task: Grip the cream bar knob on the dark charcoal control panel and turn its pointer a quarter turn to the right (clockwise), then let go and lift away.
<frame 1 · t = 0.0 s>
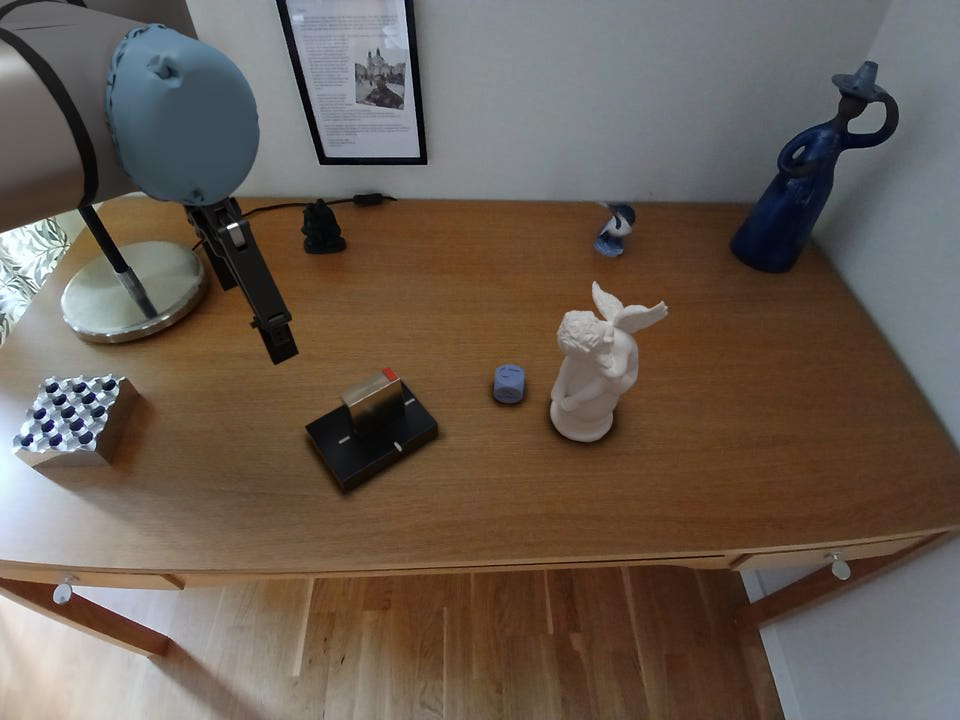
hand: (258, 319, 61), 19 cm above the table, tool pointing down, fingers open, 13 cm apart
cherub figurine: (582, 405, 78), on the table
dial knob: (373, 403, 69), point 7 cm above the table, hinge at 0.0°
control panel: (374, 436, 74), on the table
decorative dice: (508, 393, 79), on the table
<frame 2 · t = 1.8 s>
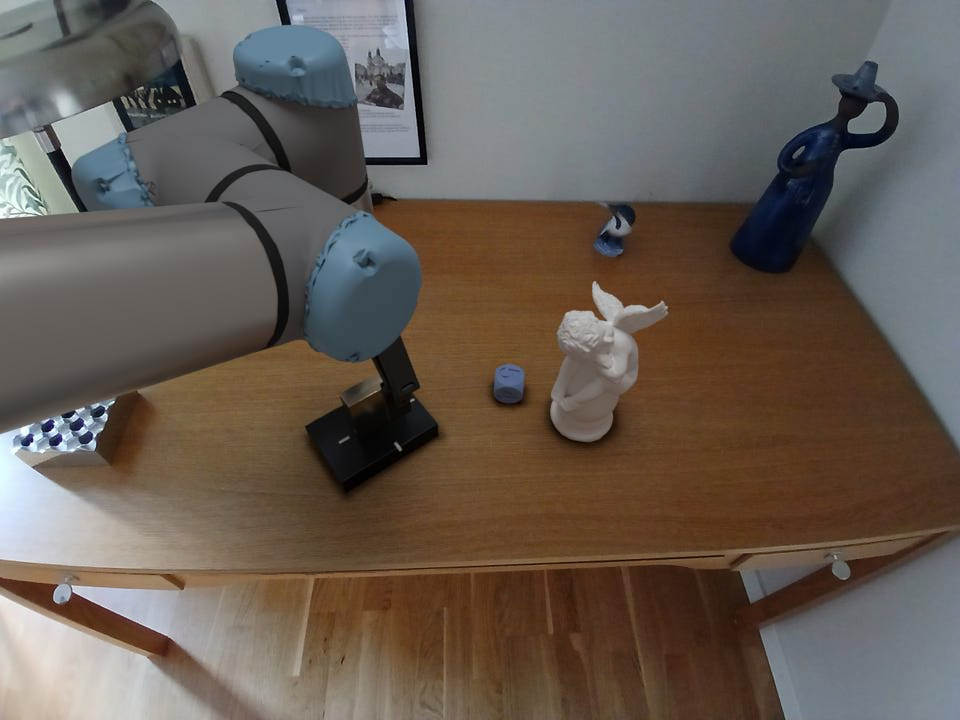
hand: (368, 376, 65), 12 cm above the table, tool pointing down, fingers open, 13 cm apart
nothing on the table moved.
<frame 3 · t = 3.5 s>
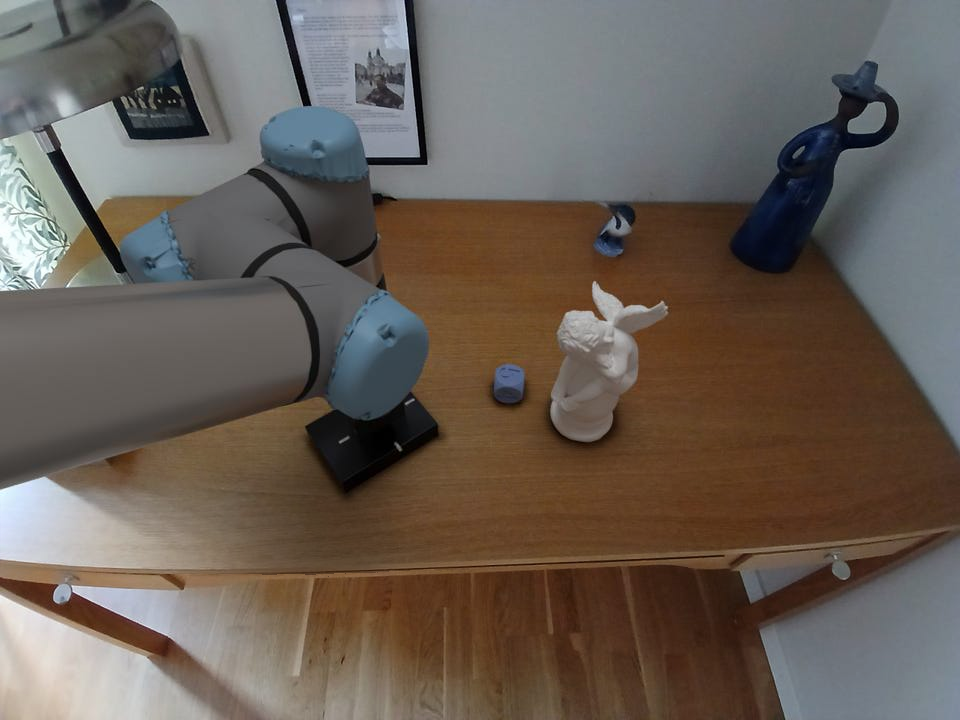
hand: (376, 415, 71), 4 cm above the table, tool pointing down, fingers closed on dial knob, 2 cm apart
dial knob: (373, 403, 69), point 7 cm above the table, hinge at -0.1°, touching gripper
everything else where it was.
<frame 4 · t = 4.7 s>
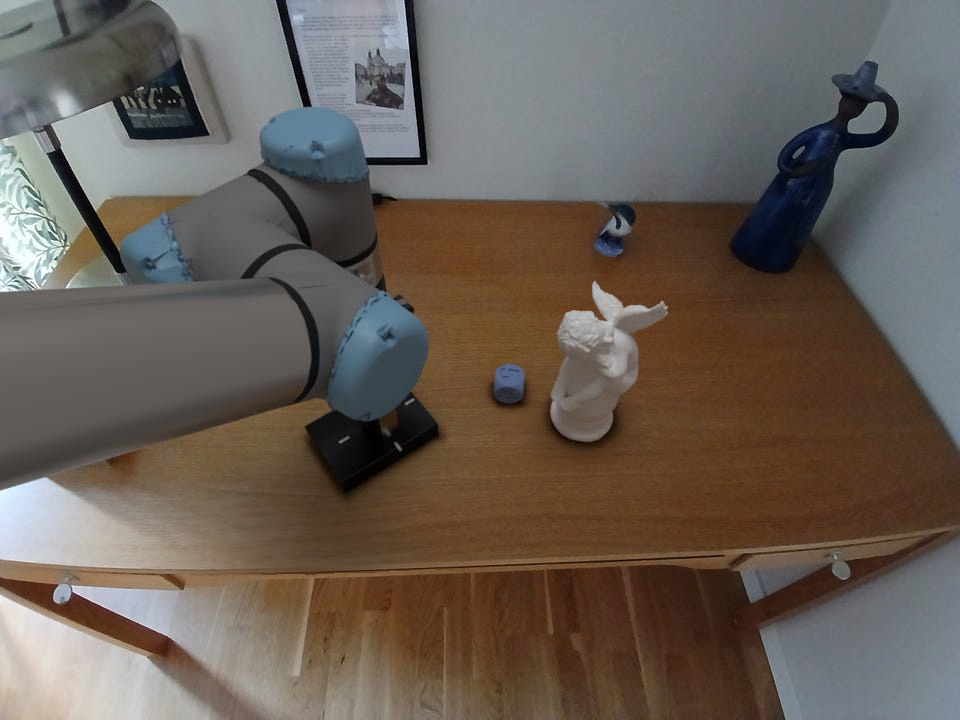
hand: (377, 415, 71), 4 cm above the table, tool pointing down, fingers closed on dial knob, 2 cm apart
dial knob: (373, 403, 69), point 7 cm above the table, hinge at -89.5°, touching gripper
everything else where it was.
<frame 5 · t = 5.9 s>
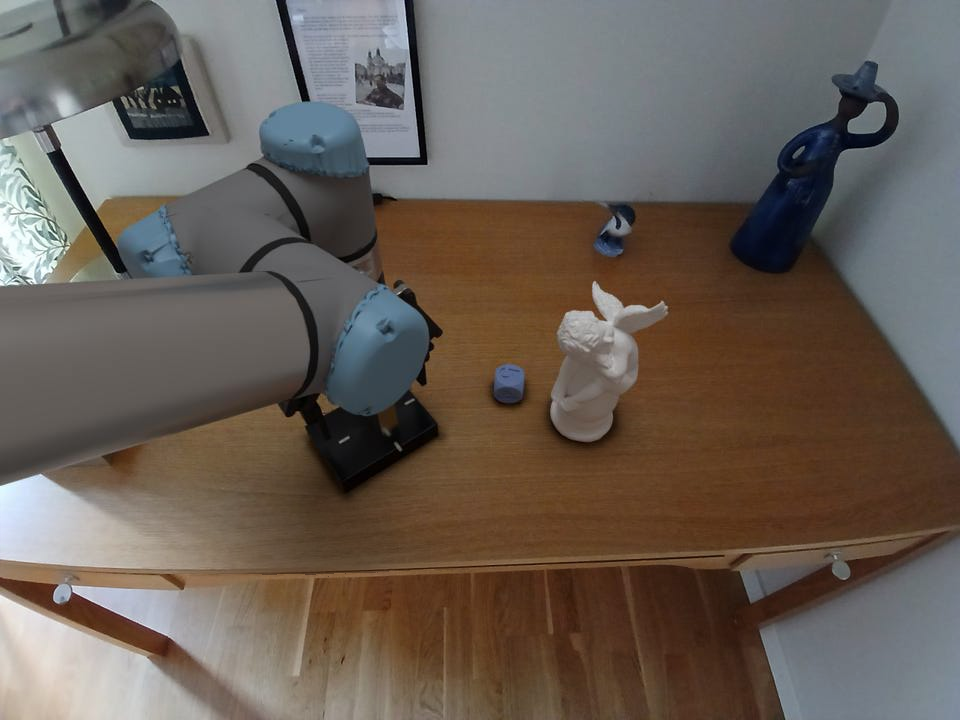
hand: (372, 404, 69), 7 cm above the table, tool pointing down, fingers open, 13 cm apart
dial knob: (373, 403, 69), point 7 cm above the table, hinge at -89.4°
everything else where it was.
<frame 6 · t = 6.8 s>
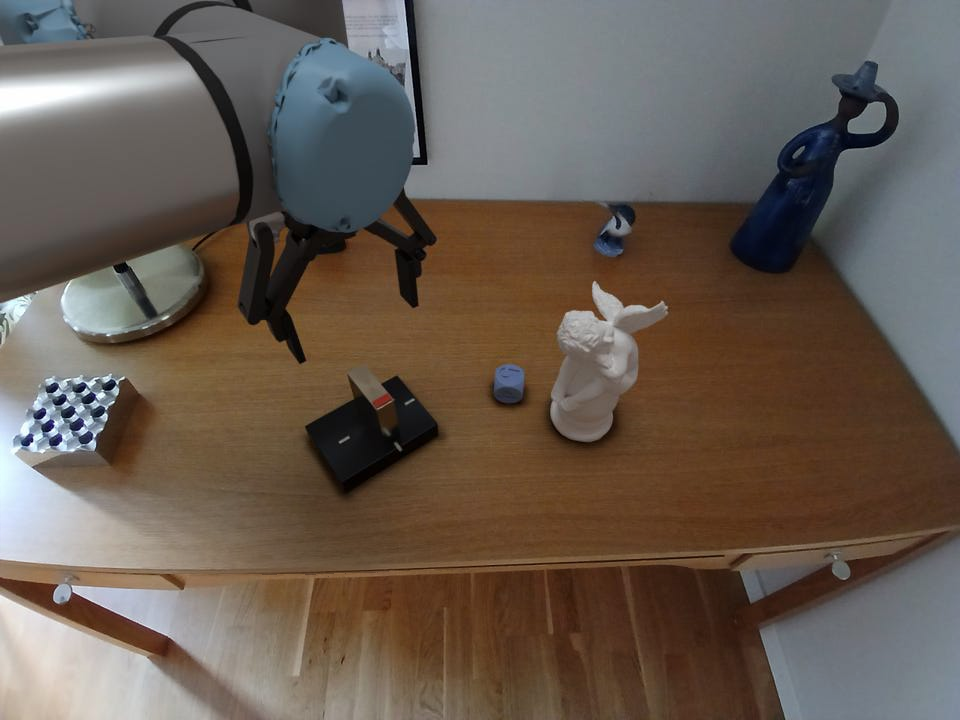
hand: (355, 326, 60), 20 cm above the table, tool pointing down, fingers open, 13 cm apart
nothing on the table moved.
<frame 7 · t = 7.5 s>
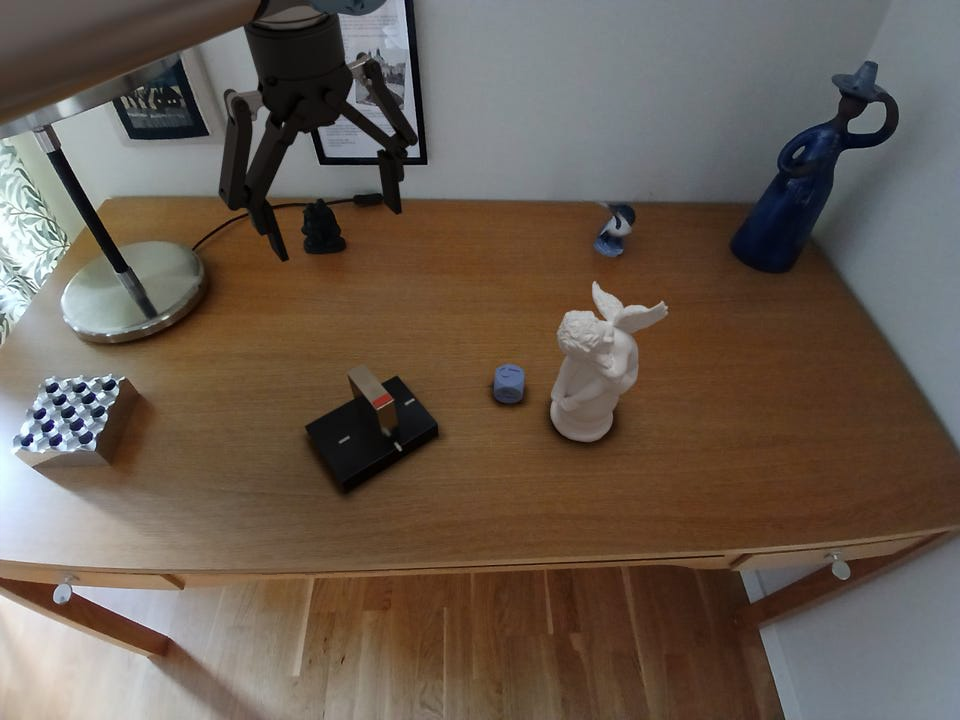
hand: (339, 230, 61), 26 cm above the table, tool pointing down, fingers open, 13 cm apart
nothing on the table moved.
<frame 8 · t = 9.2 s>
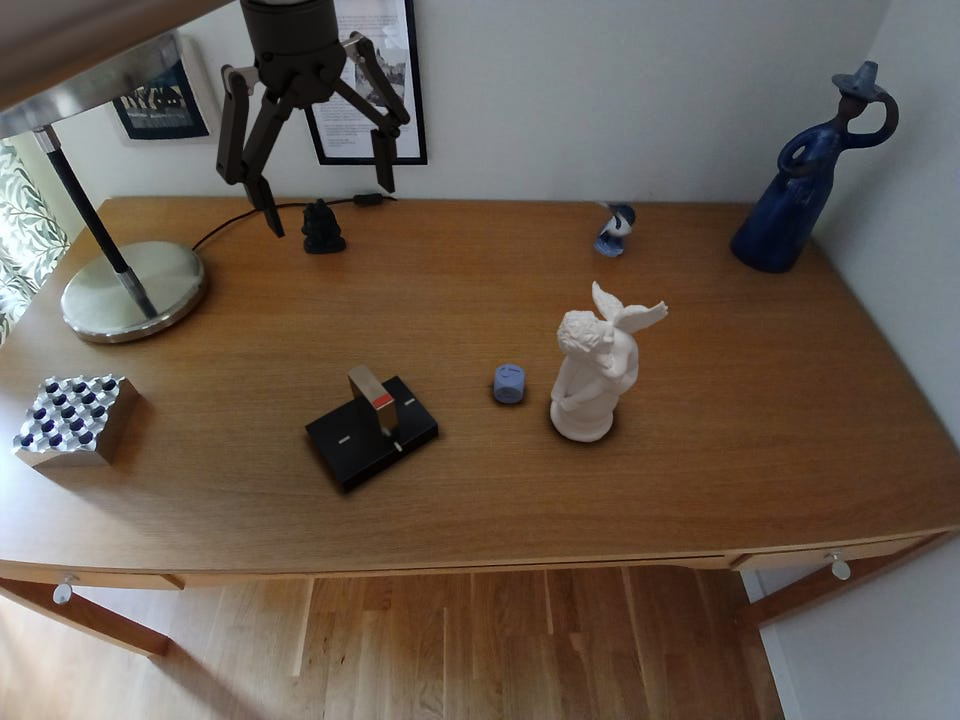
hand: (334, 208, 62), 27 cm above the table, tool pointing down, fingers open, 13 cm apart
nothing on the table moved.
at the end: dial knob at -89° (first picture: +0°); the gripper is holding nothing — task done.
